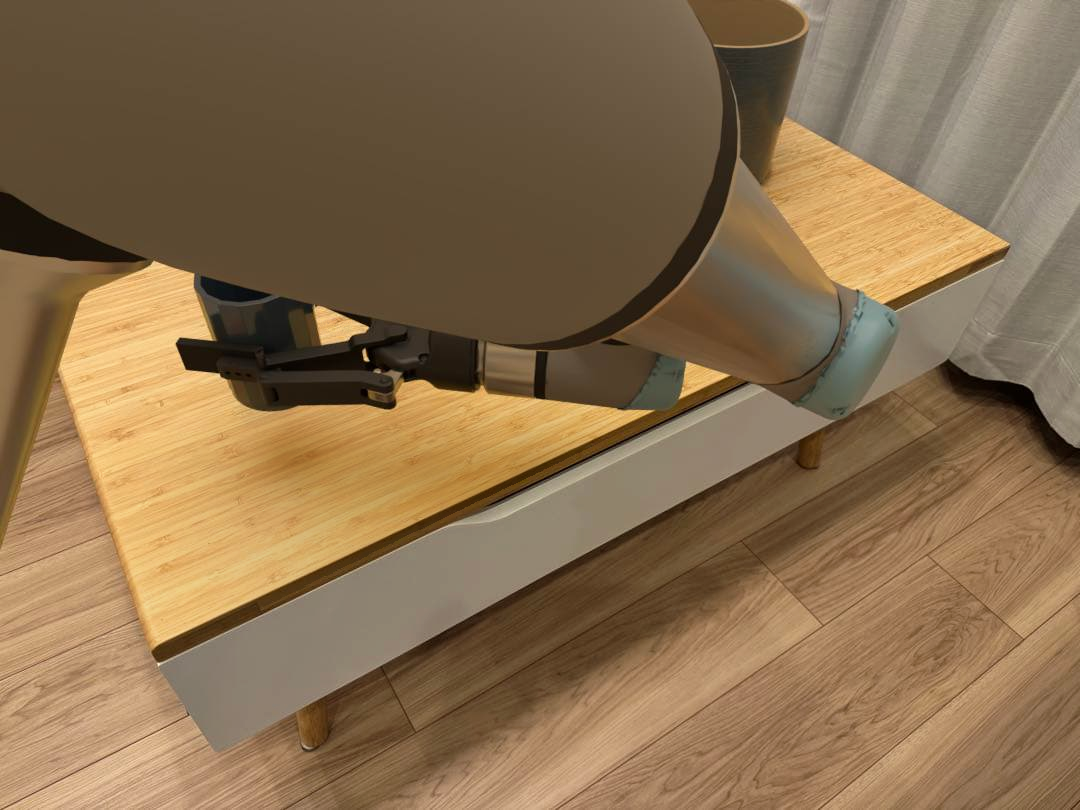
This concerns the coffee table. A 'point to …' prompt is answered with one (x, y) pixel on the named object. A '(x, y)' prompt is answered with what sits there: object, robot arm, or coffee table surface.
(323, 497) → the coffee table surface
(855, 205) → the coffee table surface
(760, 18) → the planter
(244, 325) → the cup
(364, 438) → the coffee table surface
